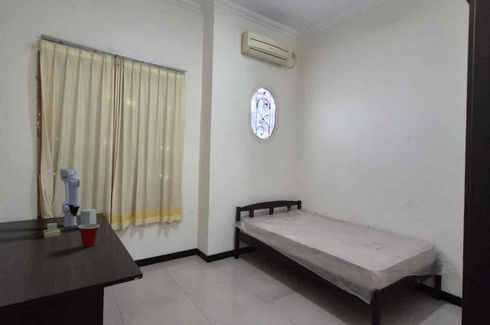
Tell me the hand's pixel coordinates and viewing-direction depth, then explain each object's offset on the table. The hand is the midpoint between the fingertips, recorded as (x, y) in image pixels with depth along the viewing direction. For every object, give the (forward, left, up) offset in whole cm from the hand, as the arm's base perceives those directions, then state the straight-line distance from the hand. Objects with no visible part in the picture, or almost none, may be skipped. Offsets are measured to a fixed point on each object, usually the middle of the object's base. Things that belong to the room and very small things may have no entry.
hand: (73, 215), depth 179 cm
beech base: (+7, -13, -10) cm, 18 cm away
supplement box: (0, +9, -10) cm, 14 cm away
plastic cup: (+44, +1, -10) cm, 45 cm away
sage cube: (+7, -13, -7) cm, 16 cm away
